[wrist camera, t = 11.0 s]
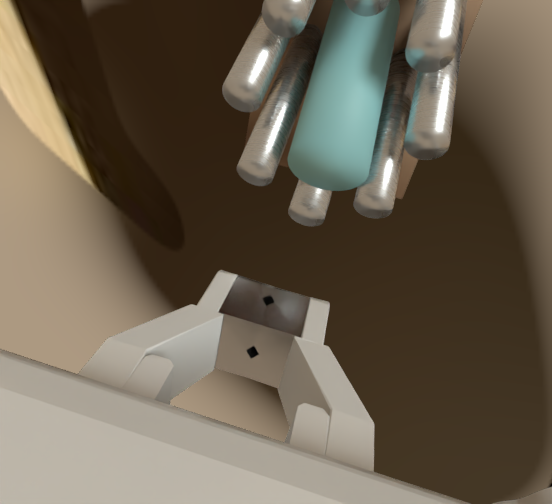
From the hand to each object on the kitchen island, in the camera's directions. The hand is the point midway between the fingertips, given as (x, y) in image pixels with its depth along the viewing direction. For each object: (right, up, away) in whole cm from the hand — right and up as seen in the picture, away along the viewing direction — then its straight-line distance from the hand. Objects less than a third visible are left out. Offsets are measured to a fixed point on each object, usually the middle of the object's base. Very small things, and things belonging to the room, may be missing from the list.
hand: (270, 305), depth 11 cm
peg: (+4, +13, +8) cm, 16 cm away
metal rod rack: (+5, +14, +12) cm, 19 cm away
